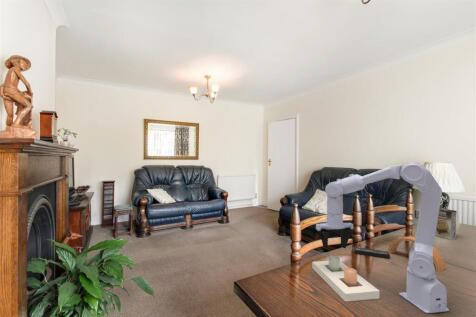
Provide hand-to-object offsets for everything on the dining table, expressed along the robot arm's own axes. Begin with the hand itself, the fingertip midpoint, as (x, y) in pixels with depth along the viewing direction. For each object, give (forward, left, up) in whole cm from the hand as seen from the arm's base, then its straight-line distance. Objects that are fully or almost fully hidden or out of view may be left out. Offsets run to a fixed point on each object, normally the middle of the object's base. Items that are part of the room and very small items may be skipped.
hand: (334, 247), depth 88 cm
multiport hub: (+14, -28, -11) cm, 33 cm away
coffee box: (+31, -88, -11) cm, 94 cm away
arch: (+6, -43, -11) cm, 45 cm away
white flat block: (-5, 0, -10) cm, 12 cm away
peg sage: (0, 0, -10) cm, 10 cm away
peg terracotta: (-10, 0, -10) cm, 14 cm away
